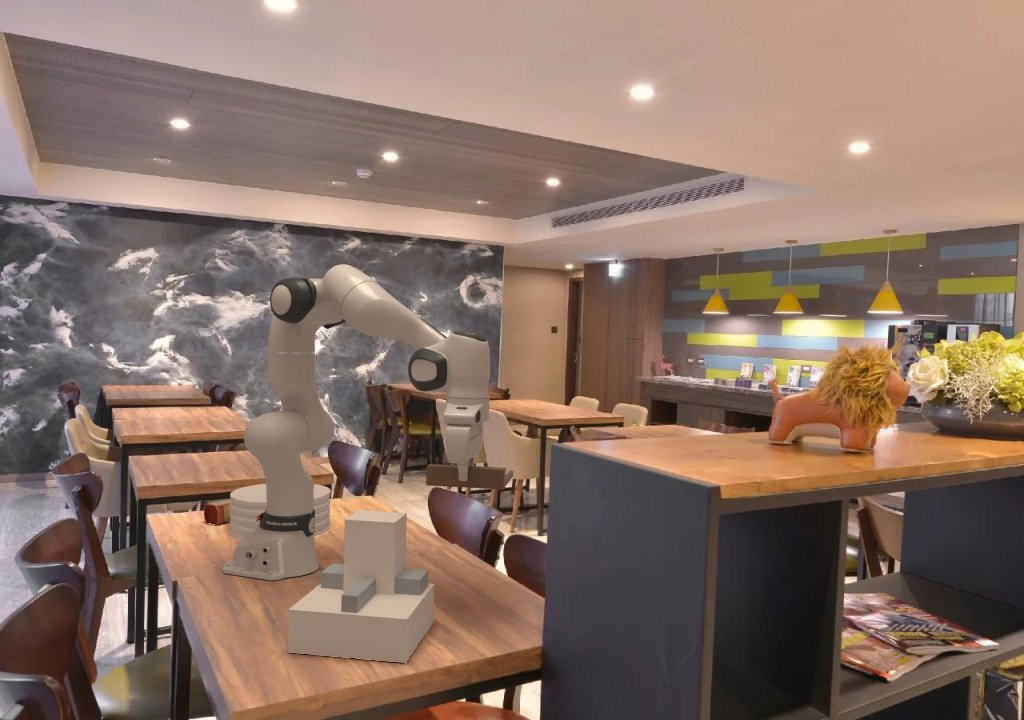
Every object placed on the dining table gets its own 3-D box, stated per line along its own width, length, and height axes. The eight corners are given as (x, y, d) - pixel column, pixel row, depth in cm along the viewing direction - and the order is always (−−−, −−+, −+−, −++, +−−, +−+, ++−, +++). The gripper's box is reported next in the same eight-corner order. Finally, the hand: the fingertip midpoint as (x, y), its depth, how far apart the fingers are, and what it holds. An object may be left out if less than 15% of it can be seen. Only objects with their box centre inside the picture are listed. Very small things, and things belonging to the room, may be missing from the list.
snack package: (259, 510, 238) (259, 490, 238) (273, 513, 235) (273, 492, 235) (202, 524, 220) (202, 501, 220) (216, 527, 217) (217, 504, 216)
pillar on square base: (287, 653, 132) (289, 532, 131) (329, 614, 151) (331, 508, 150) (406, 664, 129) (408, 540, 128) (433, 623, 147) (435, 514, 147)
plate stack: (326, 516, 233) (326, 480, 232) (333, 540, 206) (334, 499, 206) (231, 521, 224) (232, 484, 223) (227, 547, 197) (227, 504, 197)
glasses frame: (426, 485, 150) (426, 465, 150) (443, 472, 165) (443, 454, 165) (503, 489, 148) (504, 470, 147) (513, 476, 163) (514, 458, 163)
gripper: (462, 406, 160) (460, 468, 161) (440, 415, 140) (439, 487, 140) (491, 407, 159) (489, 470, 160) (473, 417, 139) (471, 489, 139)
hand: (465, 478), depth 150 cm, fingers closed on glasses frame, 3 cm apart
